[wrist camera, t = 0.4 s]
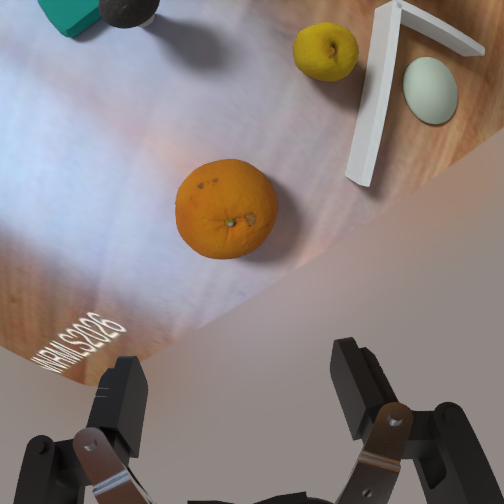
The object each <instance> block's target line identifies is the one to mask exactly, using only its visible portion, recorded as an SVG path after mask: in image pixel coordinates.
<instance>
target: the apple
mask: <svg viewBox="0 0 504 504" xmlns="http://www.w3.org/2000/svg"><path fill="white" fill-rule="evenodd" d="M293 53H294V60H295V64H296V66H297V67H298V68H299V69H300V70H301V71H302V72H303V73H304V74H305V75H307V76H309V77H311V78H314V79H318V80H321V81H328V82H333V81H337V80H340V79H342V78H344V77H345V76H347V75H348V74H349V73H350V72H351V71H352V69H353V68H354V66H355V64H356V62H357V59H358V55H359V50H358V44H357V41H356V39H355V37H354V36H353V34H352V33H351V32H350V31H349V30H348V29H346V28H345V27H343V26H340V25H338V24H335V23H330V22H323V23H318V24H314V25H312V26H309V27H307V28H305V29H303V30H302V31H300V32H299V33H298V35H297V37H296V39H295V42H294V44H293Z"/></svg>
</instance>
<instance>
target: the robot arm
mask: <svg viewBox="0 0 504 504" xmlns="http://www.w3.org/2000/svg"><path fill="white" fill-rule="evenodd" d="M330 374H331V378H332V381H333V384H334V387H335V389H336V392H337V395H338V398H339V401H340V404H341V406H342V409H343V412H344V415H345V418H346V421H347V424H348V427H349V430H350V432H351V435H352V438H353V440H358V439H362V441H363V444H364V446H363V448H362V450H361V452H360V454H359V457H358V459H357V461H356V463H355V465H354V468H353V469H352V472H351V474H350V476H349V477H348V479H347V482H346V483H345V485H344V487H343V489H342V491H341V493H340V494H339V496H338V498H337V500H336V502H335V504H387V503H388V500H389V498H390V496H391V493H392V490H393V488H394V485H395V483H396V481H397V478H398V475H399V472H400V469H401V466H400V461H401V459H413V462H414V465H415V467H416V470H417V473H418V476H419V479H420V482H421V485H422V488H423V491H424V494H425V497H426V501H427V504H504V498H503V496H502V494H501V491H500V488H499V486H498V483H497V481H496V479H495V476H494V474H493V472H492V469H491V467H490V465H489V463H488V460H487V458H486V456H485V454H484V452H483V449H482V447H481V445H480V443H479V441H478V439H477V437H476V435H475V433H474V431H473V429H472V427H471V425H470V423H469V421H468V419H467V417H466V415H465V413H464V411H463V409H462V408H461V407H460V406H458V405H457V404H455V403H452V402H444V403H441V404H439V405H438V406H437V407H436V408H435V410H434V411H413V410H410V408H409V407H407V406H406V405H404V404H402V403H399V401H398V399H397V398H396V396H395V394H394V392H393V390H392V388H391V386H390V384H389V382H388V380H387V378H386V376H385V374H384V373H383V370H382V368H381V366H379V362H378V360H377V359H376V357H375V355H374V354H373V353H372V352H370V350H368V349H367V348H366V347H364V348H358V346H357V344H356V342H355V340H354V338H353V337H350V338H344V339H337V340H335V341H334V344H333V350H332V356H331V362H330ZM147 396H148V385H147V380H146V377H145V375H144V373H143V370H142V367H141V365H140V362H139V360H138V358H137V357H136V356H119V357H118V358H117V361H116V364H115V368H108V369H107V371H106V372H105V373H104V374H103V375H102V377H101V379H100V382H99V385H98V390H97V392H96V397H95V398H94V402H93V405H92V409H91V412H90V416H89V419H88V423H87V426H86V428H84V429H82V430H80V431H79V432H78V433H77V434H76V435H75V437H74V439H70V440H65V441H59V442H53V440H52V439H51V438H49V437H48V436H45V435H38V436H36V437H34V438H32V439H31V440H30V441H29V443H28V444H27V447H26V451H25V455H24V458H23V463H22V466H21V470H20V474H19V479H18V483H17V488H16V493H15V498H14V503H13V504H83V503H84V494H85V486H88V485H92V486H93V488H94V490H93V494H94V496H95V498H96V500H97V502H98V503H99V504H156V502H155V501H154V500H153V499H152V498H151V496H150V495H149V494H148V492H147V491H146V490H145V488H144V487H143V486H142V484H141V483H140V481H139V480H138V479H137V477H136V476H135V474H134V473H133V471H132V470H131V469H130V467H129V466H128V463H129V457H132V458H138V456H139V448H140V441H141V433H142V427H143V421H144V414H145V407H146V402H147ZM188 504H233V503H227V502H222V501H188ZM254 504H334V503H331V502H329V501H326V500H323V499H319V498H312V497H307V496H306V492H299V493H293V494H286V495H279V496H275V497H272V498H269V499H266V500H263V501H260V502H257V503H254Z"/></svg>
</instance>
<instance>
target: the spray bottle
mask: <svg viewBox="0 0 504 504" xmlns="http://www.w3.org/2000/svg"><path fill="white" fill-rule="evenodd" d="M38 3H39V5H40V6H41V8H42V10H43V11H44V13H45V14H46V16H47V17H48V19H49V21H50V22H51V23H52V24H53V25H54V26H55V28H56V29H57V30H58V31H59V32H60V33H61V34H62V35H64V36H66V37H75V36H77V35H79V34H80V33H81V32H83V31H84V30H85V29H87V28H88V27H89V26H90V25H92V24H93V23H95V22H96V21H97V20H99V19H100V18H101V15H100V13H99V0H38Z"/></svg>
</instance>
